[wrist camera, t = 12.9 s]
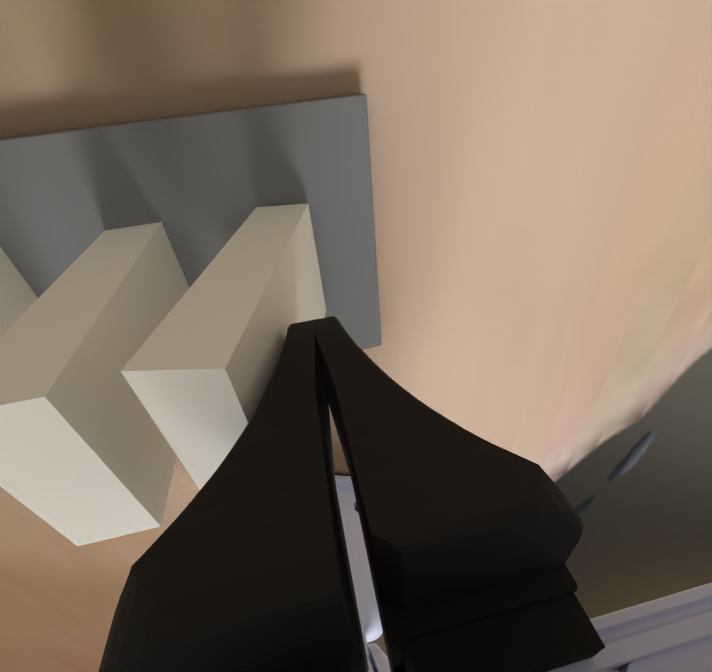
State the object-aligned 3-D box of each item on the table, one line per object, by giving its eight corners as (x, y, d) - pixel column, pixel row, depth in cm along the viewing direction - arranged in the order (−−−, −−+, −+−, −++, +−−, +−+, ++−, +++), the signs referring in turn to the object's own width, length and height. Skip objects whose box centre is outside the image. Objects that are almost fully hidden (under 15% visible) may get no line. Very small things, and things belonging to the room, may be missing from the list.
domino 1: (161, 221, 13) (44, 396, 6) (205, 326, 16) (160, 526, 9) (104, 230, 13) (-83, 422, 6) (160, 335, 16) (77, 546, 9)
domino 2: (308, 203, 13) (225, 368, 6) (326, 310, 16) (282, 504, 9) (256, 207, 14) (120, 371, 7) (283, 312, 17) (209, 503, 10)
